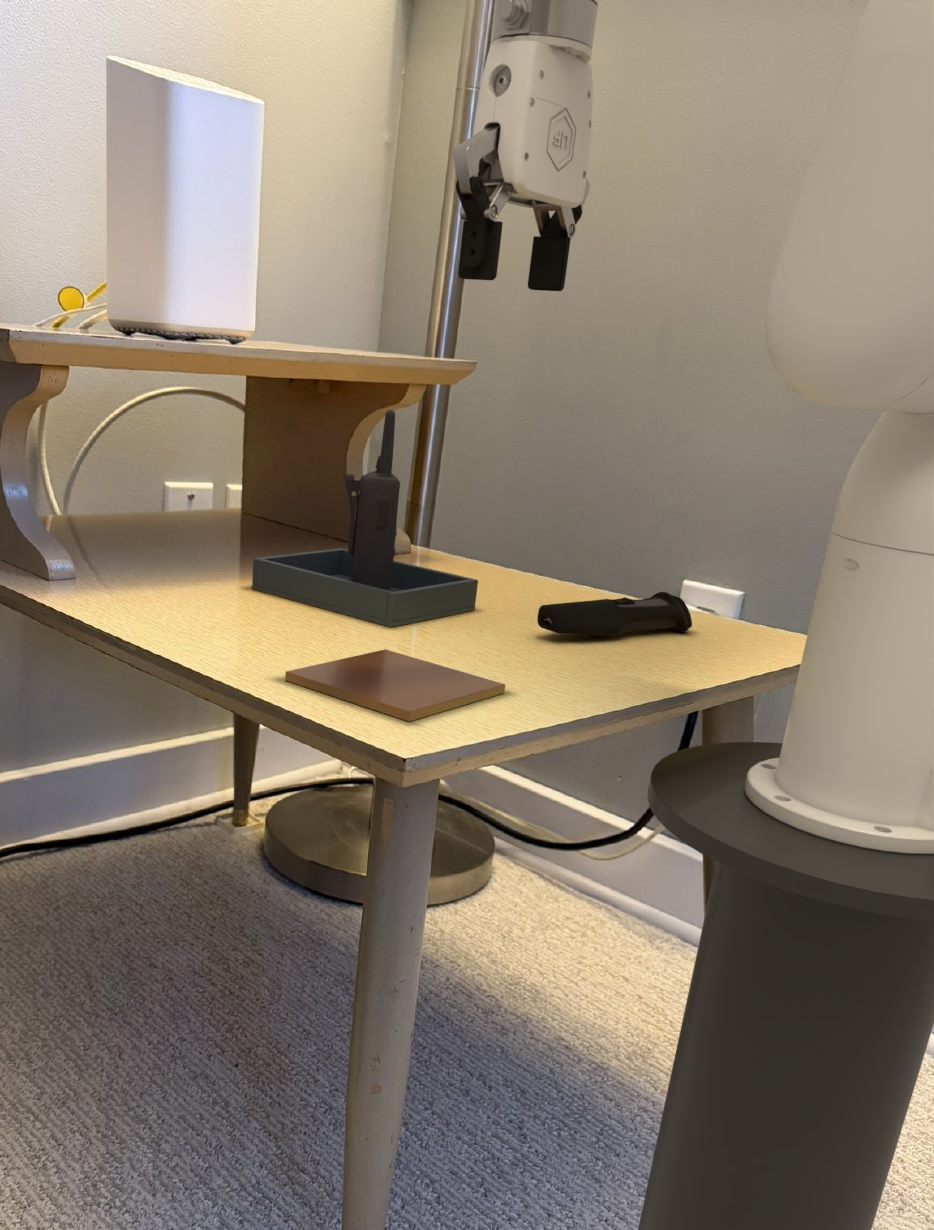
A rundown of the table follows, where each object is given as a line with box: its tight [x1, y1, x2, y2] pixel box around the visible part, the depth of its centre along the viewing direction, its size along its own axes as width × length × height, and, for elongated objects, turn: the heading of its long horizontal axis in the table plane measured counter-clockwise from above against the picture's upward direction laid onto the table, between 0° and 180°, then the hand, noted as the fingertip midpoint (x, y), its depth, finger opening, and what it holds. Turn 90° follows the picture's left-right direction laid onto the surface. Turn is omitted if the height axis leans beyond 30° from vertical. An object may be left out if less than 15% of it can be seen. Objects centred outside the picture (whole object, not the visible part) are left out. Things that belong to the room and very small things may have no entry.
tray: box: [251, 547, 479, 628], centre depth 97 cm, size 15×11×3 cm
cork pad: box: [284, 648, 506, 722], centre depth 74 cm, size 10×10×1 cm
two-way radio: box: [344, 409, 401, 591], centre depth 95 cm, size 6×4×15 cm
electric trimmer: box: [536, 591, 693, 637], centre depth 92 cm, size 4×16×3 cm, turn 123°
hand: (512, 284), depth 92 cm, fingers open, 9 cm apart
